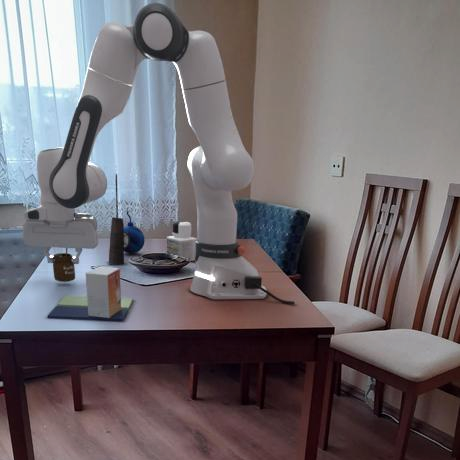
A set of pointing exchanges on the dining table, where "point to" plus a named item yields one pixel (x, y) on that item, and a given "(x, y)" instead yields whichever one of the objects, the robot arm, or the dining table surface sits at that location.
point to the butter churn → (116, 238)
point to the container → (182, 241)
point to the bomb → (133, 238)
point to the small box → (103, 291)
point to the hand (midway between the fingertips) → (63, 263)
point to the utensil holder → (63, 267)
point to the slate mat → (83, 314)
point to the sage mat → (82, 302)
